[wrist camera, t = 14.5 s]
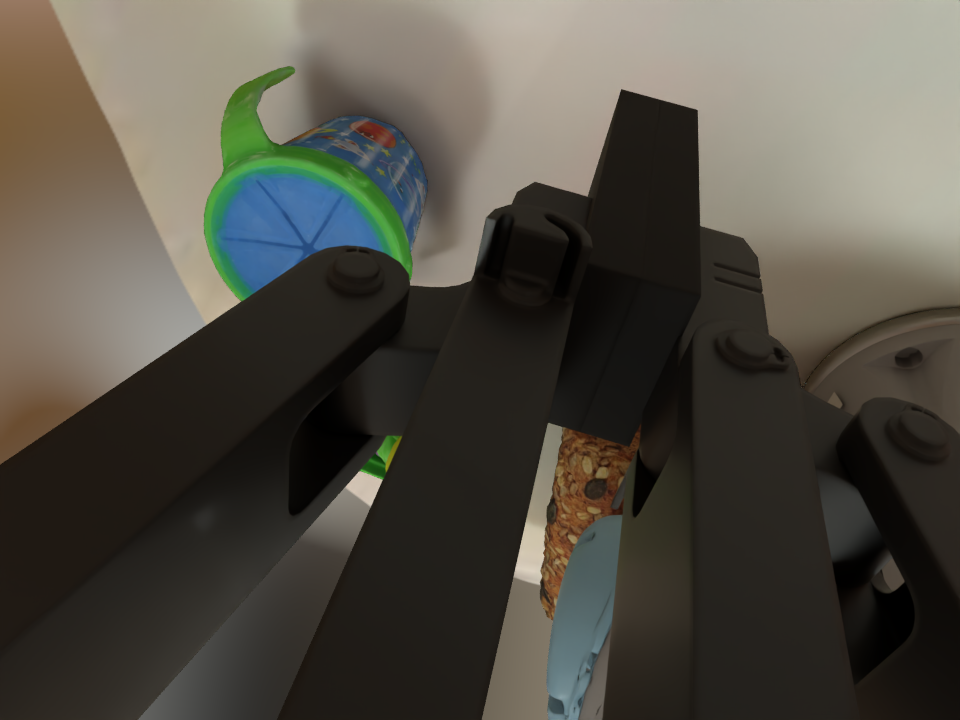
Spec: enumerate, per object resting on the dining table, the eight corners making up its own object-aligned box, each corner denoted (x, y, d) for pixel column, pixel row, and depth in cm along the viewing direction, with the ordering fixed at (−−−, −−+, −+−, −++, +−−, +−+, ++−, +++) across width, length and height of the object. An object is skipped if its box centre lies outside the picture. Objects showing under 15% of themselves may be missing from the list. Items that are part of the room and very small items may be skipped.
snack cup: (490, 271, 46) (449, 369, 38) (347, 295, 50) (283, 389, 42) (401, 13, 37) (325, 72, 30) (237, 66, 41) (132, 130, 33)
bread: (676, 563, 59) (674, 678, 51) (547, 536, 60) (526, 644, 53) (734, 391, 47) (742, 507, 39) (571, 364, 49) (549, 470, 41)
